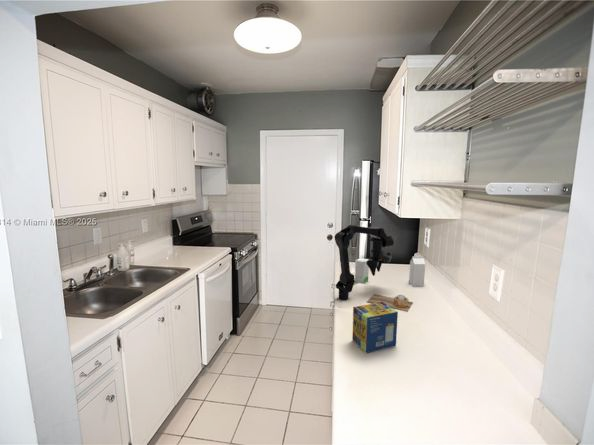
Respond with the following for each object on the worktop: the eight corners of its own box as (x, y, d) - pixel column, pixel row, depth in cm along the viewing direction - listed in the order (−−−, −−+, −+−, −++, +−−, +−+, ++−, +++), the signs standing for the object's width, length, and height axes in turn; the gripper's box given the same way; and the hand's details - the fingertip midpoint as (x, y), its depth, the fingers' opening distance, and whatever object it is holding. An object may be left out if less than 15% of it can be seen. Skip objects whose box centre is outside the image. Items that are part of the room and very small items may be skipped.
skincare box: (363, 285, 195) (364, 262, 192) (354, 282, 199) (354, 260, 196) (368, 281, 201) (369, 259, 199) (359, 279, 205) (360, 257, 203)
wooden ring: (406, 308, 156) (406, 302, 156) (392, 305, 160) (392, 299, 159) (409, 303, 162) (409, 297, 162) (395, 301, 166) (396, 295, 165)
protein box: (351, 340, 129) (352, 306, 127) (381, 333, 134) (382, 301, 132) (365, 353, 119) (366, 317, 117) (396, 346, 125) (398, 311, 122)
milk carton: (423, 286, 192) (425, 258, 189) (412, 286, 192) (414, 257, 189) (419, 282, 199) (421, 255, 196) (408, 282, 199) (410, 255, 196)
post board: (407, 314, 153) (408, 302, 152) (366, 304, 164) (366, 293, 163) (413, 304, 164) (413, 293, 163) (374, 296, 176) (374, 285, 175)
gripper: (386, 253, 164) (384, 280, 167) (395, 246, 180) (393, 271, 182) (366, 250, 170) (365, 277, 173) (376, 244, 186) (375, 268, 188)
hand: (376, 273), depth 179 cm, fingers open, 9 cm apart
